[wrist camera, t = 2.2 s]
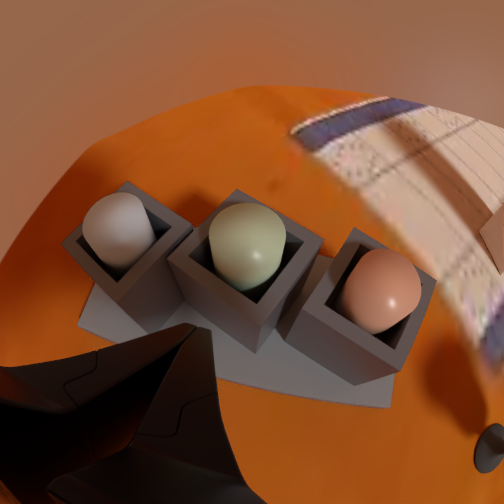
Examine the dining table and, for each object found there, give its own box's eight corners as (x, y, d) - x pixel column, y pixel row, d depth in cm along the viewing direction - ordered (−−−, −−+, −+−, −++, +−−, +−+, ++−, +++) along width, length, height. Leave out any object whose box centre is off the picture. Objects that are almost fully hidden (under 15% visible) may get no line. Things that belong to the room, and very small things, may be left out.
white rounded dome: (132, 293, 17) (107, 261, 13) (97, 260, 18) (71, 225, 14) (172, 250, 18) (157, 211, 15) (135, 222, 19) (117, 183, 16)
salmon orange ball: (373, 351, 15) (406, 332, 12) (321, 318, 16) (341, 290, 13) (397, 302, 17) (429, 273, 14) (349, 271, 18) (372, 236, 15)
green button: (253, 311, 17) (256, 282, 13) (202, 275, 18) (193, 239, 14) (289, 264, 18) (299, 226, 15) (240, 234, 19) (240, 192, 16)
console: (382, 408, 18) (445, 399, 11) (83, 330, 21) (27, 289, 14) (394, 280, 24) (441, 227, 17) (134, 221, 26) (106, 157, 19)
